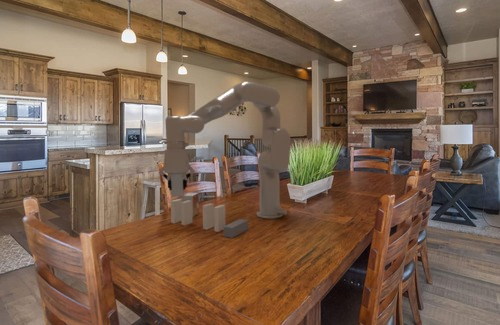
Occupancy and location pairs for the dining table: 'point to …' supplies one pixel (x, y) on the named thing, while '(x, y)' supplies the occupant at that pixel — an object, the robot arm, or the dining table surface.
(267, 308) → the dining table surface
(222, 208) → the tile
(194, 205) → the small box
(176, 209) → the end tile
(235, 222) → the end block
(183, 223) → the tile
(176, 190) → the tile
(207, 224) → the tile
